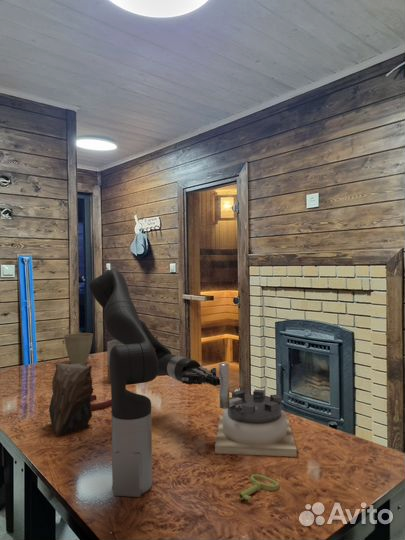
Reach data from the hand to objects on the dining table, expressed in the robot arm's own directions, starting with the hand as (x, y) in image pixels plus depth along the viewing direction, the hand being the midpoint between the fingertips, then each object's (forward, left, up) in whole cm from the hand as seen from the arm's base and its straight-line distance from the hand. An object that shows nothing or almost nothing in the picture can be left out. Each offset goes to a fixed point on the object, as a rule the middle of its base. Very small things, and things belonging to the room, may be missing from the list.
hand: (217, 381), depth 111 cm
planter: (+65, +49, -19) cm, 83 cm away
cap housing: (+9, -10, -17) cm, 22 cm away
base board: (+9, -10, -19) cm, 23 cm away
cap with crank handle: (+8, -8, -12) cm, 16 cm away
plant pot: (+93, +82, -19) cm, 125 cm away
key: (-19, -10, -20) cm, 29 cm away
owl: (+11, +50, -19) cm, 54 cm away
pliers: (+28, +52, -20) cm, 63 cm away
